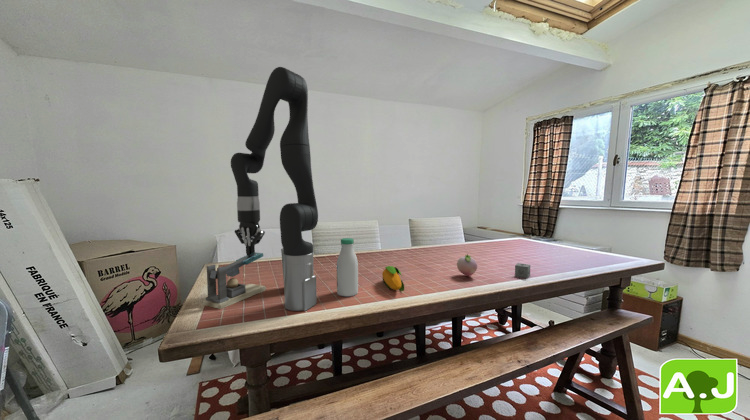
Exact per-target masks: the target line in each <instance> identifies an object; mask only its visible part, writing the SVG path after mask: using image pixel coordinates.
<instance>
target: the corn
mask: <svg viewBox="0 0 750 420" xmlns="http://www.w3.org/2000/svg"><path fill="white" fill-rule="evenodd" d="M381 275H382V281H383V284H384V285H385V286H386V288H387V289H389V290H394V291H401V292H403V291H405V284H404V282H403V280H402V279H401V277H403V276H402V272H401V271H400V269H399V268H397V267H395V266H393V265H387V266H385V269H383V272H382V274H381Z"/></svg>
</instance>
